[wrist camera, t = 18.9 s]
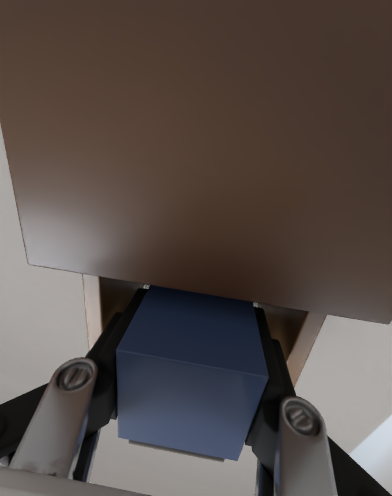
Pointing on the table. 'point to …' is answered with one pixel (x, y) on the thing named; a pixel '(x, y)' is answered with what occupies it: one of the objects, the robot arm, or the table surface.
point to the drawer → (278, 318)
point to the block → (190, 372)
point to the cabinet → (206, 145)
